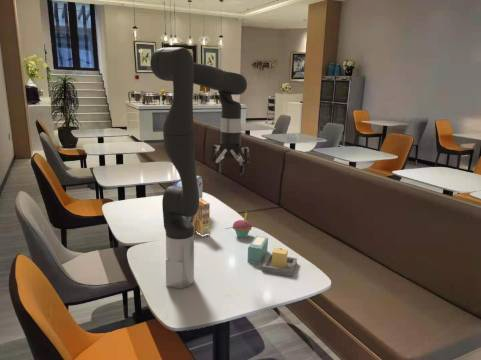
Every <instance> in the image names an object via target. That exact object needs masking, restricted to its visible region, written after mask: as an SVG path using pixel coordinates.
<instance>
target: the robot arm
mask: <svg viewBox="0 0 481 360" xmlns="http://www.w3.org/2000/svg"><path fill="white" fill-rule="evenodd" d="M149 64H150V68H151V72H152V74H153V75H154V76H155V77H156V78H157V79H160V80H162V81H165V82H172V87H173V94H172V95H173V97H172V103H171V106H170V108H169V110H168V113H166V117H165V120H164V122H163V125H162V126H163V127H162V135H163V145H164V149H165V152H166V155H167V156H168V159H169V160H170V162H171V163H172V165H173V166H174V168H175V169H176V170H177V173H178V175H179V178H180V179H181V183H182V187H179V186H173V185H170V186H168V187H166V188H165V189H164V191H163V195H162V200H161V201H162V219H163V228H164V230H165V256H166V257H165V258H166V259H165V286H166V287H169V288H170V287H171V288H175V289H180V290H184V289H185V288H186V287H190V286H191V285H193V284H194V282H195V231H194V226H193V223H192V222H188V221H187V220H185V219H184V218H183V217H182V216H186V217H193V216H194V215H196V213H197V211H198V208H199V191H198V183H197V176H198V175H197V170H196V154H195V152H196V151H195V142H196V141H195V128H194V108H193V107H194V105H193V102H194V85H197V86H199V87H200V86H201V87H204V88H206V89H207V88H208V89H210V90H213V91H217V92H218V96H219V101H220V104H221V121H220V143H219V145H218V144H213V145H212V146H211V157H210V159H211V162H215V170H216V172H217V174H218V173H221V172H222V162H221V161H222V160H223V159H224V158H226V159H229V158H230V159H235V160H236V162H238V176H242V175H243V174H244V172H245V165H247V164H249V163H250V148H249V147H248V146H246V147H242V145H241V143H242V105H241V103H240V102H238V101H236V100H234V99H233V97H232V95H233V96H234V95H236V96H237V95H238V96H239V95H243V94H244V93H245V92H246V91H247V88H248V82H247V79H246V77H245V76H244V75H243V74H240V73H237V72H233V71H232V72H231V71H226V70H223V69H220V68H218V67H215V66H212V65H209V64H203V63H197V62H194V58H193V55H192V53H191V51H190V50H189V49H188V48H185V47H180V46H179V47H178V46H177V47H173V46H171V47H161V48H158V49H156V50H155V51H153V53H152V55H151V56H150V63H149ZM219 150H220V151H219ZM218 151H219V152H221V153H220V155H219V156H218ZM241 152H242V153H243V154H244V155H243V157H242V155H241ZM217 156H218V157H217Z"/></svg>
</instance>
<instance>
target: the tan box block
mask: <svg viewBox="0 0 481 360" xmlns="http://www.w3.org/2000/svg"><path fill="white" fill-rule="evenodd" d="M288 251H289V250H288V249H283V248H276V247H273V250H272V251H271V252H272V253H271V254H272V267H278V268H284V269H285V268H286V265H287V257H288Z"/></svg>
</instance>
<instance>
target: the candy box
mask: <svg viewBox="0 0 481 360" xmlns="http://www.w3.org/2000/svg"><path fill="white" fill-rule="evenodd" d="M210 204H211V203H210V202H208V201H206V200H205V199H203V198H202V199H201V198H199V208H198V211H197V213H196V215H194V216H193V221H192V225H193V226H194V232H195V231H197V232H198V233H200V234H201V235H205V234H210V232H211V231H210V229H211V228H210V227H211V226H210V221H211V220H210V219H211V217H210V215H211V213H210V211H211V209H210V206H211V205H210Z"/></svg>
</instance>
